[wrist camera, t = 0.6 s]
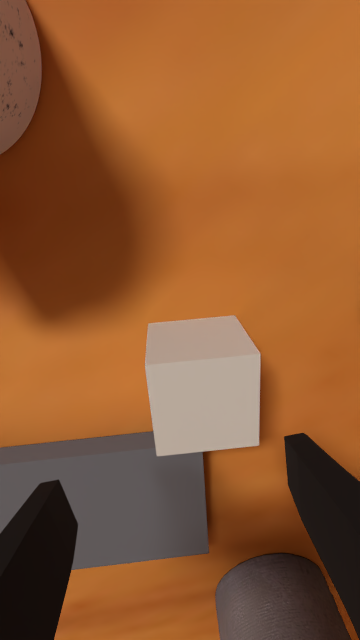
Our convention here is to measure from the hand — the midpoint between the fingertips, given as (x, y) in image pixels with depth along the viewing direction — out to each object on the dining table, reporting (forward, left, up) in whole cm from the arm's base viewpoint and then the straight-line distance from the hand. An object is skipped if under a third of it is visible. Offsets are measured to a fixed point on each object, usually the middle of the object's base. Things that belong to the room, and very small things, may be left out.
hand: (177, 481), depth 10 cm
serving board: (+5, +11, -9) cm, 15 cm away
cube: (-2, +1, -10) cm, 10 cm away
